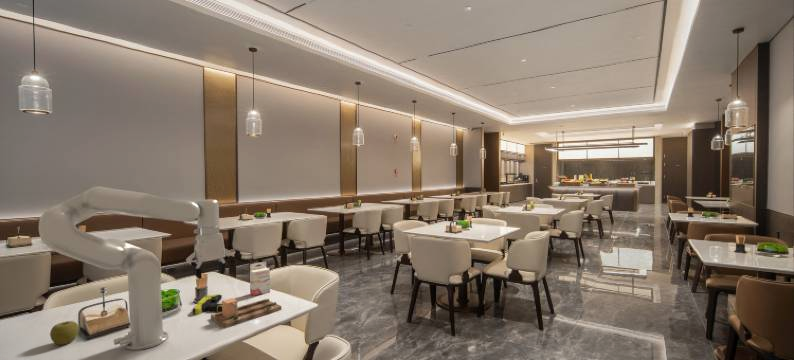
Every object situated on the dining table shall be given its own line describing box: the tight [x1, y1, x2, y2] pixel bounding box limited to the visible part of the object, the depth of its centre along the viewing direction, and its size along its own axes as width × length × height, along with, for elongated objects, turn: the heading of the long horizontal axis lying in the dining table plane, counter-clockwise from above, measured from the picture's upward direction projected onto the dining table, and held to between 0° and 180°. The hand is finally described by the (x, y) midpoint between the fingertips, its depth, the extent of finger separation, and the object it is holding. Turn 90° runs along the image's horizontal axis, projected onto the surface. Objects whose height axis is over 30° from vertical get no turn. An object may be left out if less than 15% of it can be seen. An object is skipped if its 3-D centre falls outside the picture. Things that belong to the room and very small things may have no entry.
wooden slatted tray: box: [210, 298, 282, 329], centre depth 153 cm, size 24×14×4 cm, turn 137°
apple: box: [49, 320, 80, 346], centre depth 131 cm, size 8×8×7 cm
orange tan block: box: [221, 297, 238, 317], centre depth 147 cm, size 4×9×6 cm, turn 47°
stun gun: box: [192, 293, 223, 316], centre depth 164 cm, size 3×19×15 cm
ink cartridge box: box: [249, 261, 271, 297], centre depth 180 cm, size 9×5×15 cm, turn 130°
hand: (210, 275), depth 143 cm, fingers open, 7 cm apart
